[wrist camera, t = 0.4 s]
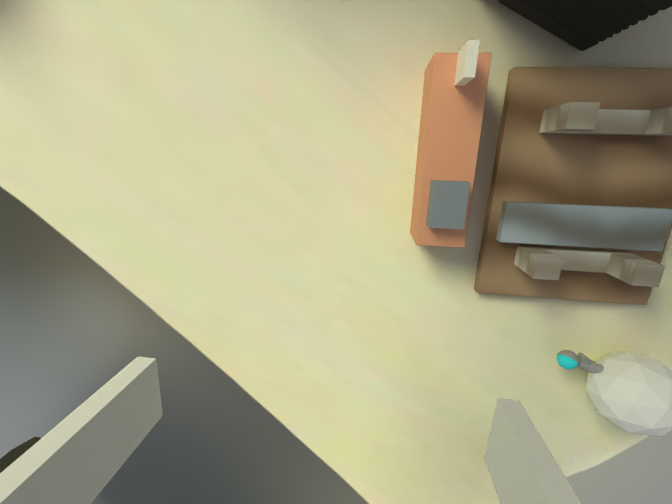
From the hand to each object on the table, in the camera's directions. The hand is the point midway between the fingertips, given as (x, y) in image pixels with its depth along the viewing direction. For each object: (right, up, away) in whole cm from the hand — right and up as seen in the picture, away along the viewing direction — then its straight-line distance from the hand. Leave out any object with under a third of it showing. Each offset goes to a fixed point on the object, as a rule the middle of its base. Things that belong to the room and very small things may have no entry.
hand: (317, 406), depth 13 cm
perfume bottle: (+30, -7, +25) cm, 40 cm away
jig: (+25, +12, +20) cm, 34 cm away
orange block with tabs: (+11, +16, +21) cm, 29 cm away
